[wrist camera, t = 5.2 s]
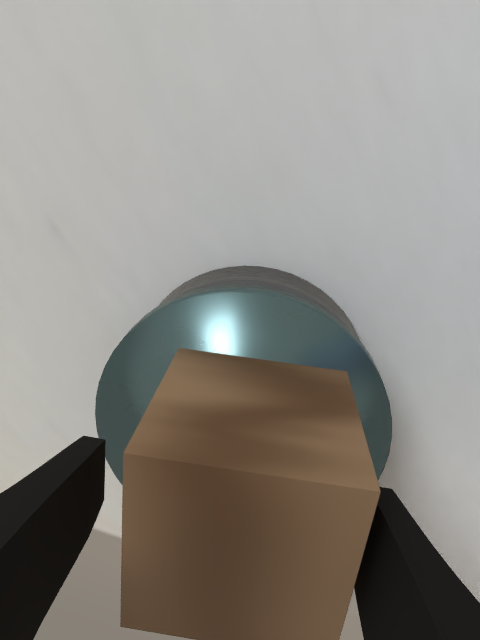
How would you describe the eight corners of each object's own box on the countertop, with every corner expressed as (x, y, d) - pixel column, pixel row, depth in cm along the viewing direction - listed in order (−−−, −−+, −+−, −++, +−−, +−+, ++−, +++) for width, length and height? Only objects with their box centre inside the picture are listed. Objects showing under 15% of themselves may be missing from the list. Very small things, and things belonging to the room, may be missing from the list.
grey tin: (392, 274, 16) (424, 312, 12) (346, 484, 19) (361, 563, 16) (134, 246, 17) (90, 274, 13) (134, 455, 20) (99, 525, 16)
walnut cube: (346, 370, 13) (381, 491, 9) (318, 503, 15) (332, 662, 10) (179, 347, 13) (123, 453, 9) (170, 480, 15) (120, 626, 11)
